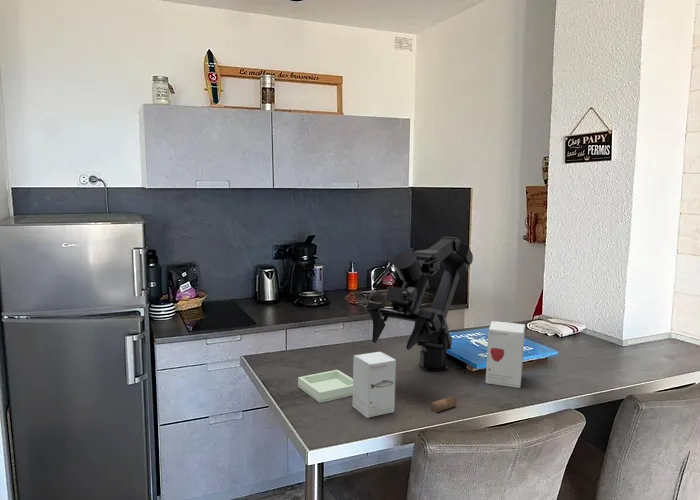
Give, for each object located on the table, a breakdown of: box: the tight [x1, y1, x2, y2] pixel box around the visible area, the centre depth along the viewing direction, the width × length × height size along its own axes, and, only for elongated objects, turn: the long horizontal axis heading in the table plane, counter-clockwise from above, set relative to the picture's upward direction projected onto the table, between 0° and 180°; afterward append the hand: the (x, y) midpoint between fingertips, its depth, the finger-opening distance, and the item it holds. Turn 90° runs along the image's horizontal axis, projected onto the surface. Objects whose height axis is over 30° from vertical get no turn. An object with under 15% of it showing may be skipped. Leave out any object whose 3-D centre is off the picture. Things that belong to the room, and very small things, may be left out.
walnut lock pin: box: [430, 395, 457, 413], centre depth 125 cm, size 6×2×2 cm, turn 126°
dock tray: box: [297, 369, 353, 403], centre depth 135 cm, size 12×12×2 cm
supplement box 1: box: [352, 351, 397, 419], centre depth 123 cm, size 7×7×13 cm
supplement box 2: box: [485, 320, 526, 389], centre depth 143 cm, size 9×9×15 cm
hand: (390, 345), depth 129 cm, fingers open, 9 cm apart
